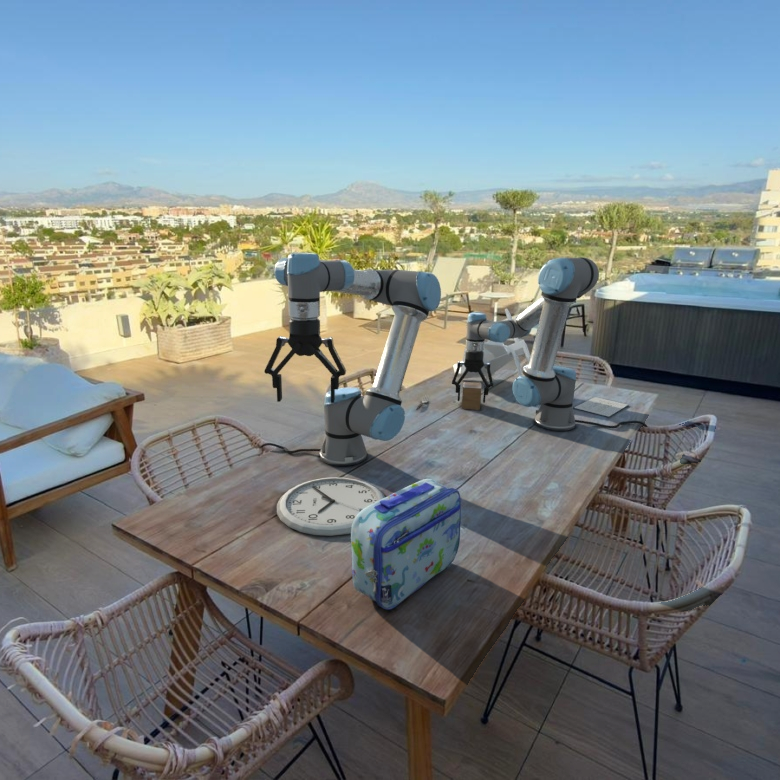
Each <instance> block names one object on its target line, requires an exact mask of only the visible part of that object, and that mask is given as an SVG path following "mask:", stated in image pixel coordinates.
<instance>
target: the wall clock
mask: <svg viewBox="0 0 780 780" xmlns="http://www.w3.org/2000/svg"><path fill="white" fill-rule="evenodd" d="M385 497H386V496H385V494H384V493H383V492H382V491H381V490H380V489H379V488H377V487H376V486H374V485H372V484H371V483H369V482H365V481H362V480H359V479H355V478H349V477H338V476H337V477H335V476H333V477H332V476H331V477H322V478H317V479H312V480H307V481H305V482H302V483H299V484H297V485H295V486H293V487H292V488H290V489H288V490H287V491H286V492H285V493H284V494H283V495H281V496H280V498H279V499H278V502H277V503H276V515H277V517H278V518H279V520H280V521H281V522H282V523H283V524H285V525H286V526H287V527H288V528H290V529H293V530H295V531H297V532H299V533H303V534H308V535H312V536H327V537H328V536H329V537H331V536H332V537H333V536H342V535H350V534H351V529H352V524H353V521H354V519H355V517H356V516H357V514H358V513H359V512H360V511H361V510H362V509H364V508H366V507H367V506H369V505H371V504H374V503H375V502H377V501H379V500H381V499H383V498H385Z"/></svg>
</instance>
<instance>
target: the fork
mask: <svg viewBox="0 0 780 780" xmlns="http://www.w3.org/2000/svg"><path fill="white" fill-rule="evenodd" d="M429 399H430V397H429V395H424V396H423V398H422V400H421V403H420V404H418V406H417V407H416V409H415V410H419V409H420V408H421V407H422V406H423V405H424V404H425V403H428V402H429Z"/></svg>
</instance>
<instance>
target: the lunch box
mask: <svg viewBox="0 0 780 780" xmlns="http://www.w3.org/2000/svg"><path fill="white" fill-rule="evenodd" d="M461 499H462V498H461V493H460V491H459V490H458V489H457V488H454V487H451V488H449V487H447V486H446V485H444V484H441V483H440V482H437V481H436V480H434V479H431V478H424V479H421V480H418V481H416V482H414V483H412V484H410V485H408V486H405V487H404V488H401V489H399V490H397V491H395V492H393V493H392V494H389V495H387V496H385V498H383V499H381V500H379V501H377V502H375V503H374V504H371V505H369V506H367V507H366V508H364V509H362V510H361V511H360V512H359V513H358V514H357V516H356V517H355V519H354V521H353V524H352V529H351V533H350V547H351V548H350V552H351V576H352V584H353V588H354V590H356V591H357V592H359V593H360V594H363V595H365V596H367V597H368V598H369V599H371V600H372V601H374V602H376V604H377V606H378V607H379V608H382V609H384V610H386V611H387V610H388V611H390V610H393V609H394V608H396V607H397V606H398V605H400V604H401V603H402V602H403V601H405V600H406V599H407V598H408V597H409V596H411V595H412V594H413V593H415V592H417V590H419V589H420V588H422V587H423V586H424V585H425V584H426V583H428V581H430V580H431V579H432V578H434V577H435V576H438V574H440V573H441V572H443V571H445V570H446V569H447V568H448V567H449V566H451V564H452V563H453V562H454V560H455V558H456V556H457V554H458V551H459V548H460V541H461V522H462V521H461V519H462V515H461V513H462V512H461V510H462V509H461V508H462V506H461V505H462V504H461V503H462V502H461Z"/></svg>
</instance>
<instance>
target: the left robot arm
mask: <svg viewBox="0 0 780 780" xmlns="http://www.w3.org/2000/svg"><path fill="white" fill-rule="evenodd" d="M274 277H275V279H276V280H275V281H277V282H278V284H280V285H282V286H286V287H287V293H288V296H287V297H288V317H289V318H290V319H289V320H288V331H289V332H288V333H289V334H288V335H289V336H288V337H284V336H283V335H279V336H278V337H277V338H276V341H275V347H274V350H273V352H272V354H271V356H270V358H269V360H268V363H267V364H266V366H265V368H264V373H265V374H266V375H270V376H271V380H272V381H271V382H272V383H271V384H272V388H273V389H276V402H278V403H280V402H281V401H282V399H283V385H282V384H283V383H282V380H283V379H282V374H281V373H280V371H281V370H282V369H284V367H285V366H286V365H287V364H288V362H289V361H290V360H291V359H292V358H293V357H294V356H295V355H297V356H298V357H304V356H306V357H312V356H315V357H316V358H317V359H318V361H320V363H321V364H322V365H323V366H324V367H325V368H326V370H327V371H329V373H330V374H331V376H330V390H329V391H327V392H326V393H325V395H324V403H323V406H324V429H325V430H324V431H325V435H324V438H323V441H322V444H321V448H299V449H293V450H289V449H288V448H287V447H285V446H282V445H279V444H276V443H272V442H266V443H263V444H261V445H260V446H259V448H260V449H263V448H264V447H266V446H272V447H276V448H278V449H281V450H284V451H285V452H286V453H287V454H295V453H298V452H299V453H300V452H319V459H320V460H321V461H322V462H323V463H325V464H327V465H329V466H330V465H331V466H334V467H335V466H336V467H351V466H355V465H358V464H361V463H362V462H365V460H366V459H367V456H368V455H367V453H368V451H367V448H366V445H365V442H364V439H363V436H365V437H368V438H371V439H372V440H377V441H383V442H388V441H390V440H391V441H392V440H393V439H394V438H395V437H396V436H398V435H399V433H400V432H401V430H402V428H403V426H404V423H405V420H406V416H405V414H406V413H405V409H404V408H403V407H402V403H403V400H402V398H401V396H400V393H401V390H402V386H403V383H404V380H405V376H406V373H407V370H408V367H409V363H410V360H411V356H412V354H413V349H414V347H415V343H416V339H417V337H418V333H419V330H420V326H421V323H422V322H423V321H425V320H427V319H428V317H429V313H430V312H434V311H436V310H437V309H438V308H439V306H440V303H441V298H442V289H441V284H440V281H439V279H438V277H437V276H436V275H435V274H434V273H432V272H427V271H423V270H419V271H416V270H404V269H403V270H402V269H371V268H366V269H364V270H359V269H355V268H354V267H353V266H352V264H351V263H350V262H349V261H347V260H341V259H335V260H327V259H320V255H319V254H318V253H316V252H315V253H313V252H291V253H290V254H289V255H288V256H287V257H282V258H280V259H278V260H277V262H276V263H275V267H274ZM322 292H323V293H324V292H332V293H337V294H346V295H354V296H359V297H360V298H362V299H363V300H367V301H373V302H375V303H379V304H383V305H387V306H391V310H392V312H393V314H394V316H393V318H392V321H391V325H390V329H389V332H388V335H387V338H386V342H385V345H384V348H383V351H382V354H381V358H380V360H379V364H378V367H377V371H376V373H375V377H374V380H373V383H372V386H371V387H370V388H367V389H366V390H365V392H364V395H363V396H362V390H361V389H360V388H358V387H351V386H349V387H340V377H342V376H345V375H346V373H347V369H346V367H345V364H344V362H343V361H342V359H341V357H340V356H339V353H338V352H337V349H336V348H335V343H334V338H333V337H332V336H329V337H328V338H322V337H321V319H320V316H321V293H322ZM286 344H288V346H289V347H290V349H291V350H290V351H289V352H288V353H287V354H286V356H284V358H283V359H282V360H281V362H279V364H278V365H277V366H276V367H275V368H273V367H274V365H275V362H276V361H277V359H278V357H279V354H280V352H281V351H282V349H283V347H285V346H286ZM322 345H324V347H325V348H327V349H328V351H329V354H330V356H331V358H332V360H333V361H334V364H335V365H336V367H337V368H336V367H335V365H334V364H333V363H332V362H331V361H330V359H328V357H327V356H326V355H325V354H324V352H323V351H322V350H321V349H320V348H321V346H322Z"/></svg>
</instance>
